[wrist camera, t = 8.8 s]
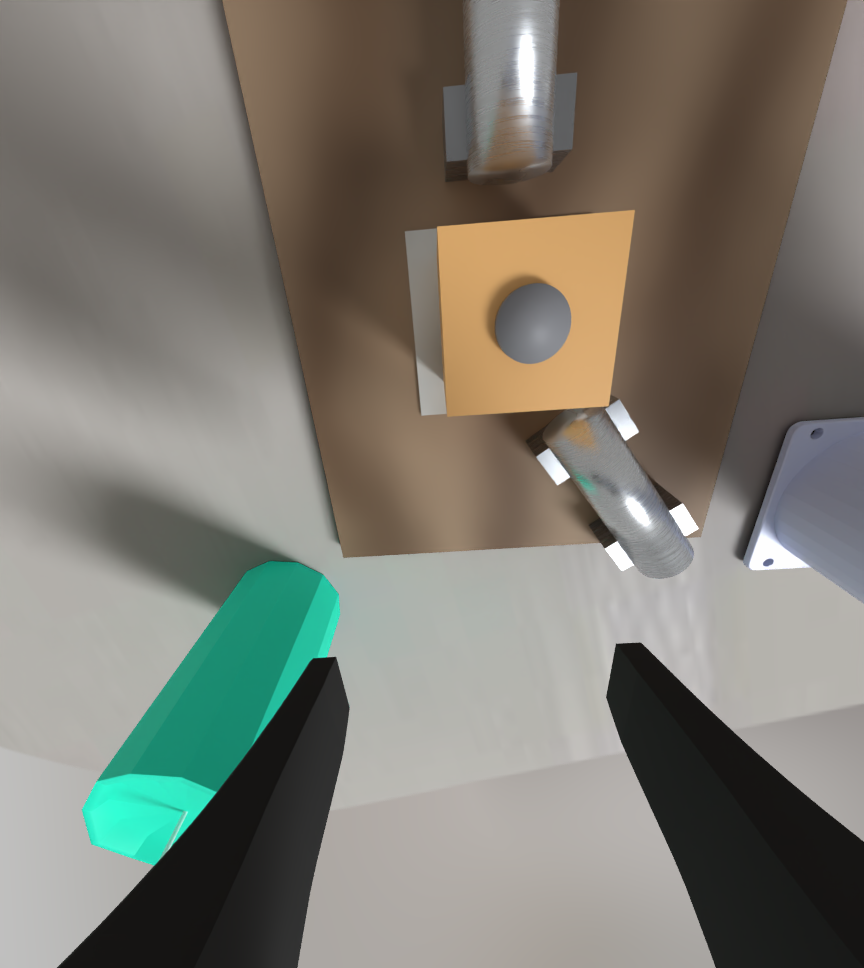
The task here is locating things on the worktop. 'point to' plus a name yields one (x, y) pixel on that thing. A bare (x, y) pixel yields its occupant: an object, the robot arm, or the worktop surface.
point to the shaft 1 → (508, 95)
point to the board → (566, 191)
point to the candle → (212, 709)
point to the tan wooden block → (531, 311)
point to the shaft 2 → (617, 489)
